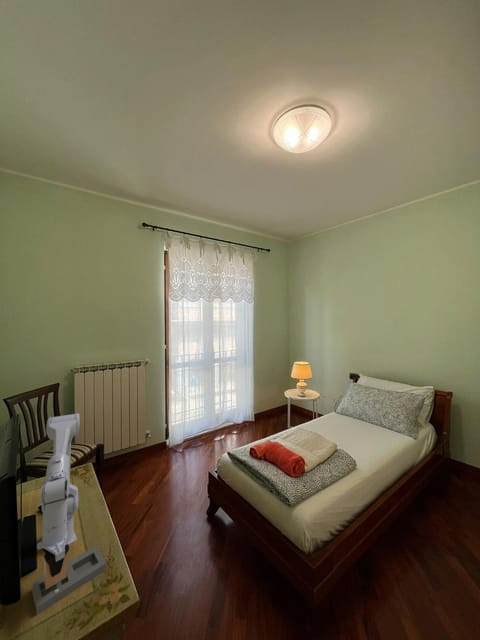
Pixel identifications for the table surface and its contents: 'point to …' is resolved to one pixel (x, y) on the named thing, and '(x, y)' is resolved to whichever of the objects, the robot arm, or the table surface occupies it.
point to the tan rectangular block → (51, 580)
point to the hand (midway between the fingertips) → (54, 569)
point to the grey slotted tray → (69, 579)
